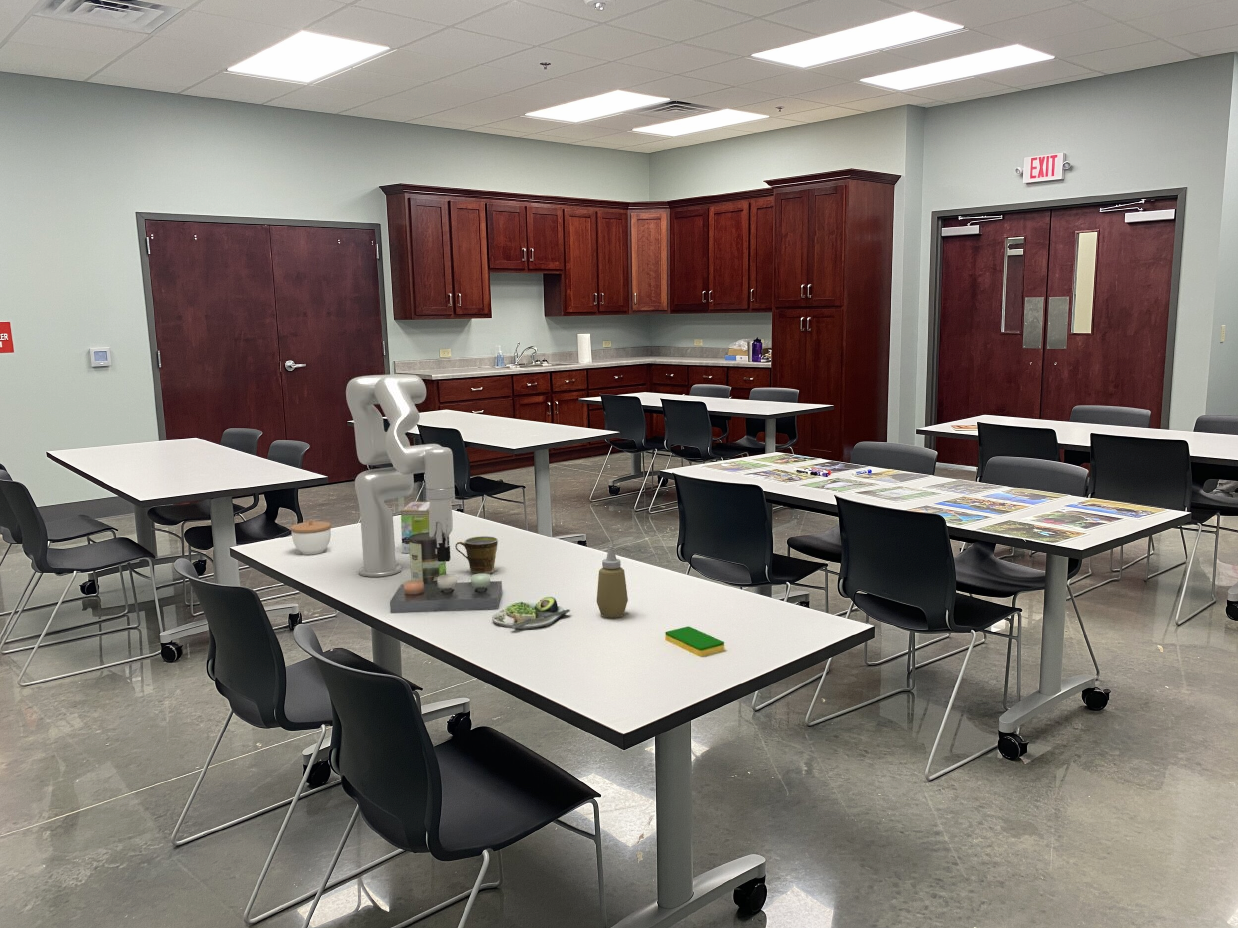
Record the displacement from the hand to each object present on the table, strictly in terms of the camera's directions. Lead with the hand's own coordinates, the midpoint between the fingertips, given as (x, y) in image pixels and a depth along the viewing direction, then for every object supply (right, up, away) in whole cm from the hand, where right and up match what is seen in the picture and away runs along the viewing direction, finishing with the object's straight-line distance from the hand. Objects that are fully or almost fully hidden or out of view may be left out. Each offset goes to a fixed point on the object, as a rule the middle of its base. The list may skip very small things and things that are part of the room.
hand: (444, 560), depth 250 cm
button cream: (+1, -10, +2) cm, 10 cm away
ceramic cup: (+4, -7, +31) cm, 32 cm away
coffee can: (-8, -9, +21) cm, 24 cm away
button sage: (+10, -10, +2) cm, 14 cm away
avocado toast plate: (+24, -14, -12) cm, 31 cm away
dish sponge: (+65, -17, -34) cm, 75 cm away
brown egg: (-8, -12, +2) cm, 14 cm away
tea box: (-19, -2, +63) cm, 66 cm away
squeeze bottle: (+45, -13, -12) cm, 49 cm away
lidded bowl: (-55, -4, +60) cm, 82 cm away
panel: (+1, -11, +2) cm, 12 cm away
